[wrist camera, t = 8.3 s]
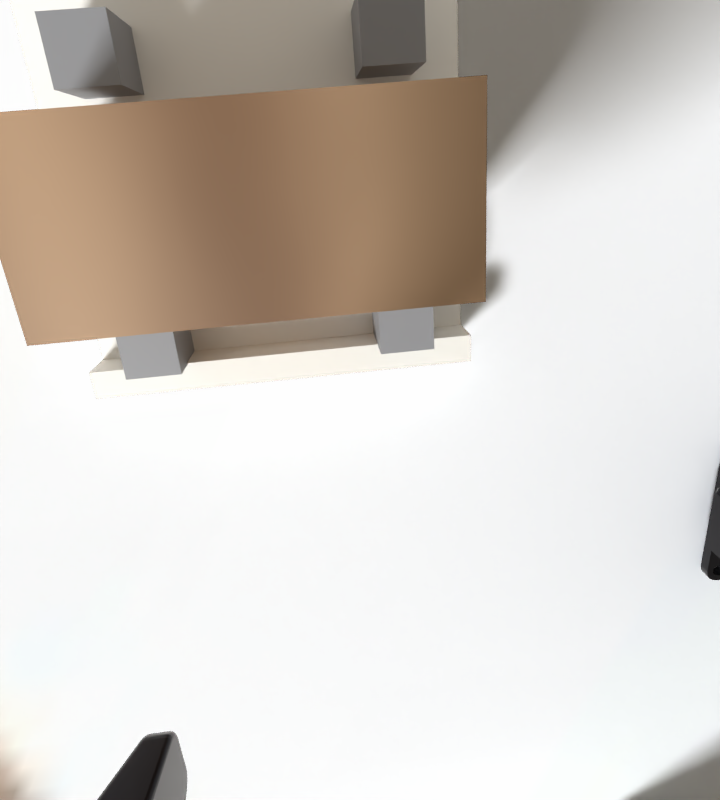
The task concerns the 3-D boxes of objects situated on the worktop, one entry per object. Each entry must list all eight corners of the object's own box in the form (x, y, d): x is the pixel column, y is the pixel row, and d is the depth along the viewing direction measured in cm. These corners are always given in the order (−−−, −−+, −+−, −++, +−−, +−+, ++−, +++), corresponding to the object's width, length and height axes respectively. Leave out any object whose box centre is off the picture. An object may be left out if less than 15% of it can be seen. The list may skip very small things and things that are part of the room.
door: (423, 107, 16) (487, 75, 10) (427, 257, 17) (485, 301, 12) (61, 136, 15) (-82, 118, 10) (99, 288, 17) (-5, 349, 11)
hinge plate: (446, -18, 16) (479, -61, 13) (452, 338, 19) (478, 369, 16) (30, 11, 15) (-37, -27, 12) (121, 371, 19) (86, 409, 16)
